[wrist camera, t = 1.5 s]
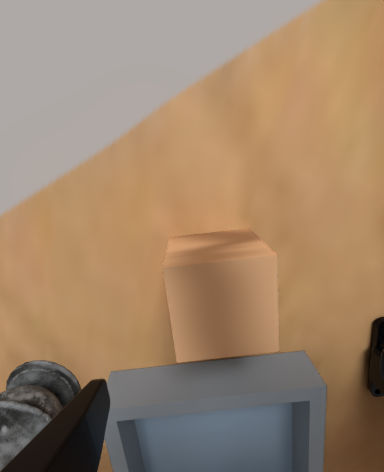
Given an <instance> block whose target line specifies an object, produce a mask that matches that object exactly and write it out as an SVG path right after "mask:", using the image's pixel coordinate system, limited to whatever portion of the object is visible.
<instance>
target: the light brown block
mask: <svg viewBox="0 0 384 472" xmlns="http://www.w3.org/2000/svg"><path fill="white" fill-rule="evenodd" d="M163 274H164V281H165V288H166V294H167V301H168V307H169V314H170V321H171V327H172V334H173V341H174V347H175V354H176V360H177V363H180V362H189V361H199V360H208V359H217V358H226V357H235V356H244V355H254V354H263V353H272V352H279V312H278V259H277V254H276V253H275V252H274V251H273V250H272V249H271V248H270V247H268V246H267V245H266V244H265V243H264V242H263V241H262V240H261V239H260V238H259V237H258V236H257V235H256V234H255V233H254V232H253V231H252V230H251V229H250V228H248V229H239V230H230V231H221V232H212V233H203V234H194V235H186V236H177V237H170V238H169V242H168V246H167V251H166V255H165V259H164V264H163Z"/></svg>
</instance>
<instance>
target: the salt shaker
mask: <svg viewBox="0 0 384 472" xmlns="http://www.w3.org/2000/svg"><path fill="white" fill-rule="evenodd" d="M80 391H81V388H80V385H79V382H78V380H77V378H76V377H75V376H74V375H73V374H72V373H71V372H70V371H69V370H67V369H66V368H65V367H63V366H61V365H59V364H56V363H54V362H49V361H31V362H26V363H24V364H22V365H20V366H18V367H17V368H16V369H15V370H14V371H13V372H12V373H11V374H10V376H9V378H8V380H7V386H6V391H4V392H2V393H0V471H1V470H2V469H3V468H4V467H5V466H6V465H7V464H8V463H9V462H10V461H11V460H12V459H13V458H14V457H15V456H16V455H17V454H18V453H19V452H20V451H21V450H22V449H23V448H24V447H25V446H26V445H27V444H28V443H29V442H30V441H31V440H32V439H33V438H34V437H35V436H36V435H37V434H38V433H39V432H40V431H41V430H42V429H43V428H44V427H45V426H46V425H47V424H48V423H49V422H50V421H51V420H52V419H53V418H54V417H55V416H56V415H57V414H58V413H59V412H60V411H61V410H62V409H63V408H64V407H65V406H66V405H67V404H68V403H69V402H70V401H71V400H72V399H73V398H74V397H75V396H76V395H77V394H78V393H79V392H80Z"/></svg>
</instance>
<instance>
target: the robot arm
mask: <svg viewBox="0 0 384 472" xmlns="http://www.w3.org/2000/svg"><path fill="white" fill-rule="evenodd" d="M368 390H369V391H370V392H371V394H372V395H373V396H375V397H379V396H384V317H380V318H378V319H376V321H375V322H374V329H373V339H372V349H371V359H370V369H369V380H368ZM109 410H110V395H109V391H108V387H107V383H106V381H105V379H94V380H91V381H90V382H89V383H88V384H87V385H86V386H85V387H84V388H83V389H82V390H81V391H80V392H79V393H78V394H77V395H76V396H75V397H74V398H73V399H72V400H71V401H70V402H69V403H68V404H67V405H66V406H65V407H64V408H63V409H62V410H61V411H60V412H59V413H58V414H57V415H56V416H55V417H54V418H53V419H52V420H51V421H50V422H49V423H48V424H47V425H46V426H45V427H44V428H43V429H42V430H41V431H40V432H39V433H38V434H37V435H36V436H35V437H34V438H33V439H32V440H31V441H30V442H29V443H28V444H27V445H26V446H25V447H24V448H23V449H22V450H21V451H20V452H19V453H18V454H17V455H16V456H15V457H14V458H13V459H12V460H11V461H10V462H9V463H8V464H7V465H6V466H5V467H4V468H3V469H2V470H1V471H0V472H97V470H98V466H99V462H100V457H101V452H102V447H103V442H104V436H105V431H106V426H107V420H108V415H109Z"/></svg>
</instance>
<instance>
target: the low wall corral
mask: <svg viewBox="0 0 384 472" xmlns="http://www.w3.org/2000/svg"><path fill="white" fill-rule="evenodd" d="M107 387H108V391H109V395H110V410H109V415H108V420H107V426H106V431H105V436H104V439H105V442H106V446H107V450H108V453H109V457H110V461H111V465H112V468H113V472H323V463H324V440H325V417H326V394H327V385H326V384H325V382H324V380H323V379H322V377H321V376H320V374H319V373H318V371H317V370H316V368H315V367H314V365H313V364H312V362H311V360H310V359H309V357H308V356H307V354H306V353H305V351H296V352H287V353H278V354H269V355H260V356H251V357H241V358H232V359H223V360H214V361H205V362H196V363H186V364H177V365H168V366H159V367H150V368H141V369H132V370H122V371H113V372H111V374H110V376H109V379H108V382H107Z"/></svg>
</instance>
